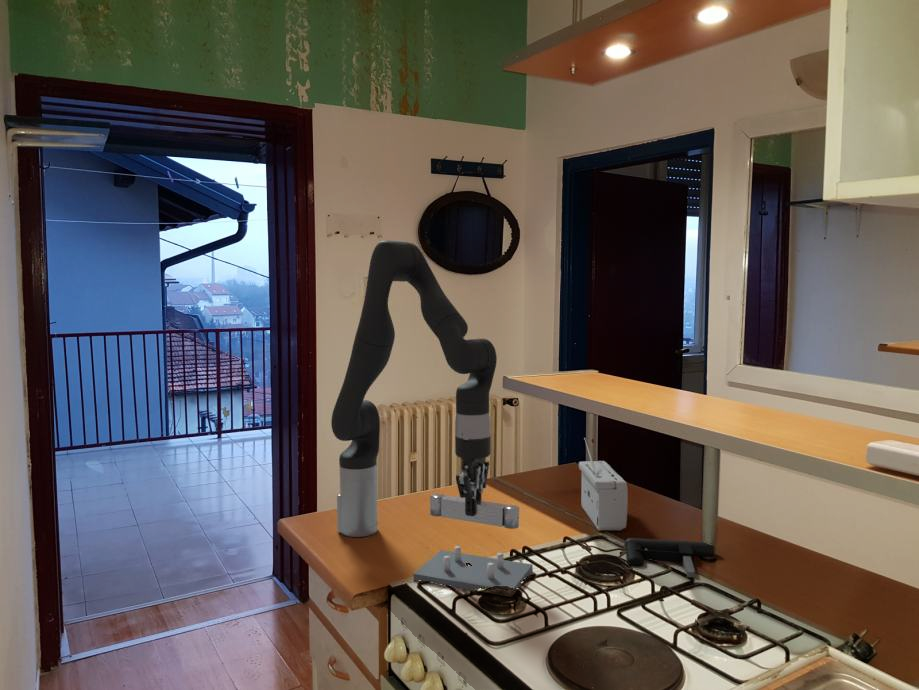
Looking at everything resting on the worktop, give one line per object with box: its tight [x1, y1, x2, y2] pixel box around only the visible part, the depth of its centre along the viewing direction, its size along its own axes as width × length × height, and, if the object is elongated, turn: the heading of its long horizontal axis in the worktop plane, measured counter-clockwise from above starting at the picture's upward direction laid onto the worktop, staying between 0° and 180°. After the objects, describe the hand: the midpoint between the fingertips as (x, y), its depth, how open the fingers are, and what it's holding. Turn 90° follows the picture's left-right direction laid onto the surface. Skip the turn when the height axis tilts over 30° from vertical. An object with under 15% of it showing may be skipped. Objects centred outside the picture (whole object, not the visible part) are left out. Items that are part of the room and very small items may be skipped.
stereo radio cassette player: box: [578, 437, 629, 532], centre depth 185 cm, size 21×8×20 cm, turn 3°
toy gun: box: [624, 537, 715, 579], centre depth 158 cm, size 3×20×16 cm
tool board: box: [412, 545, 534, 592], centre depth 151 cm, size 22×14×4 cm, turn 67°
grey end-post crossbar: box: [429, 493, 520, 530], centre depth 150 cm, size 20×3×4 cm, turn 67°
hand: (473, 512), depth 150 cm, fingers closed on grey end-post crossbar, 2 cm apart
